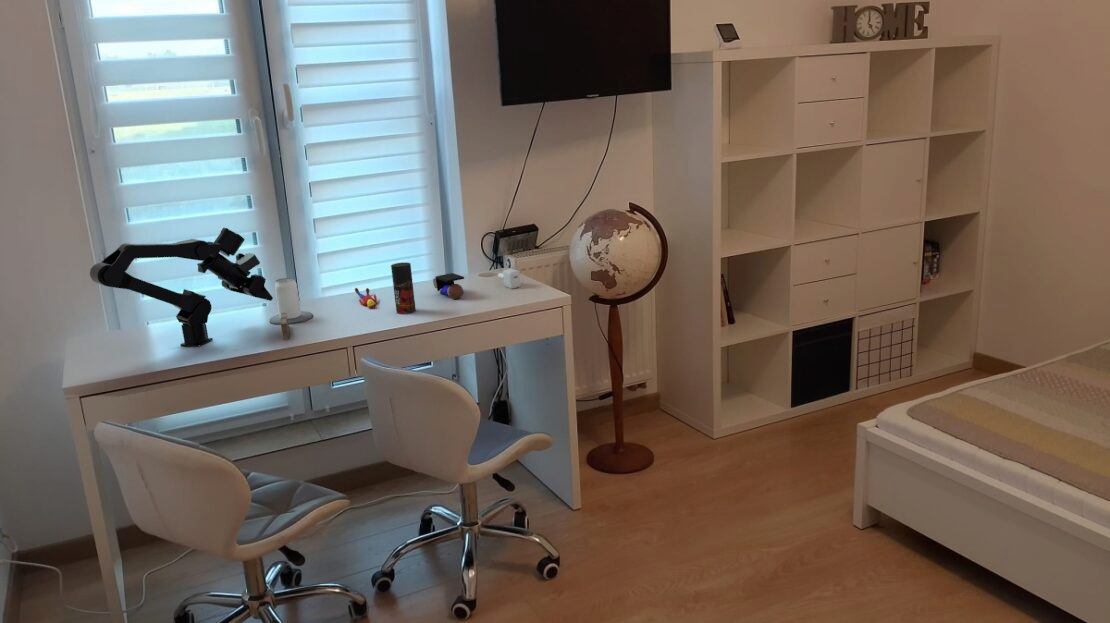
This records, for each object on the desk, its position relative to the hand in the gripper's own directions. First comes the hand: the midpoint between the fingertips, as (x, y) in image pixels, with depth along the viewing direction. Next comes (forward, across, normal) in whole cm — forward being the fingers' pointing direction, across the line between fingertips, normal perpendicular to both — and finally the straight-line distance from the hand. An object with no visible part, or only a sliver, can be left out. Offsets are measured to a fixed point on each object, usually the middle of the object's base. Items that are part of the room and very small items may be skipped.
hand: (264, 297), depth 258 cm
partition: (+5, -14, +7) cm, 16 cm away
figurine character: (+44, -22, -32) cm, 59 cm away
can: (+11, 0, 0) cm, 11 cm away
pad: (+11, 0, +1) cm, 11 cm away
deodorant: (+29, -26, -17) cm, 43 cm away
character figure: (+30, -4, -17) cm, 35 cm away
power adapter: (+58, -29, -46) cm, 79 cm away
